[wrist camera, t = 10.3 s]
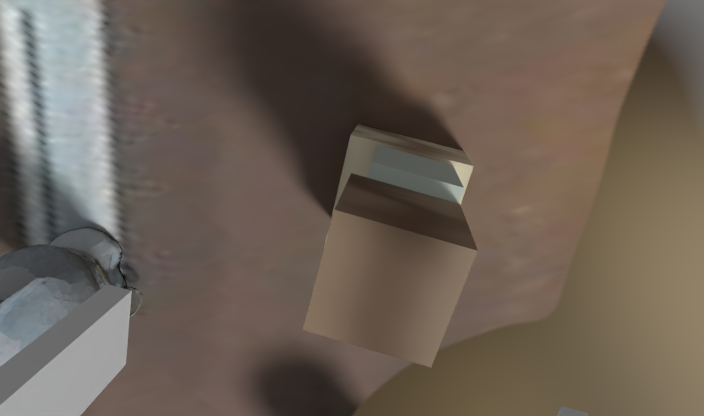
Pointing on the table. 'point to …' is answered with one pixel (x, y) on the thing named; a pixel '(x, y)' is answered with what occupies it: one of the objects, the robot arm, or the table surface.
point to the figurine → (53, 284)
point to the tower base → (369, 138)
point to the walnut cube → (391, 270)
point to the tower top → (416, 173)
